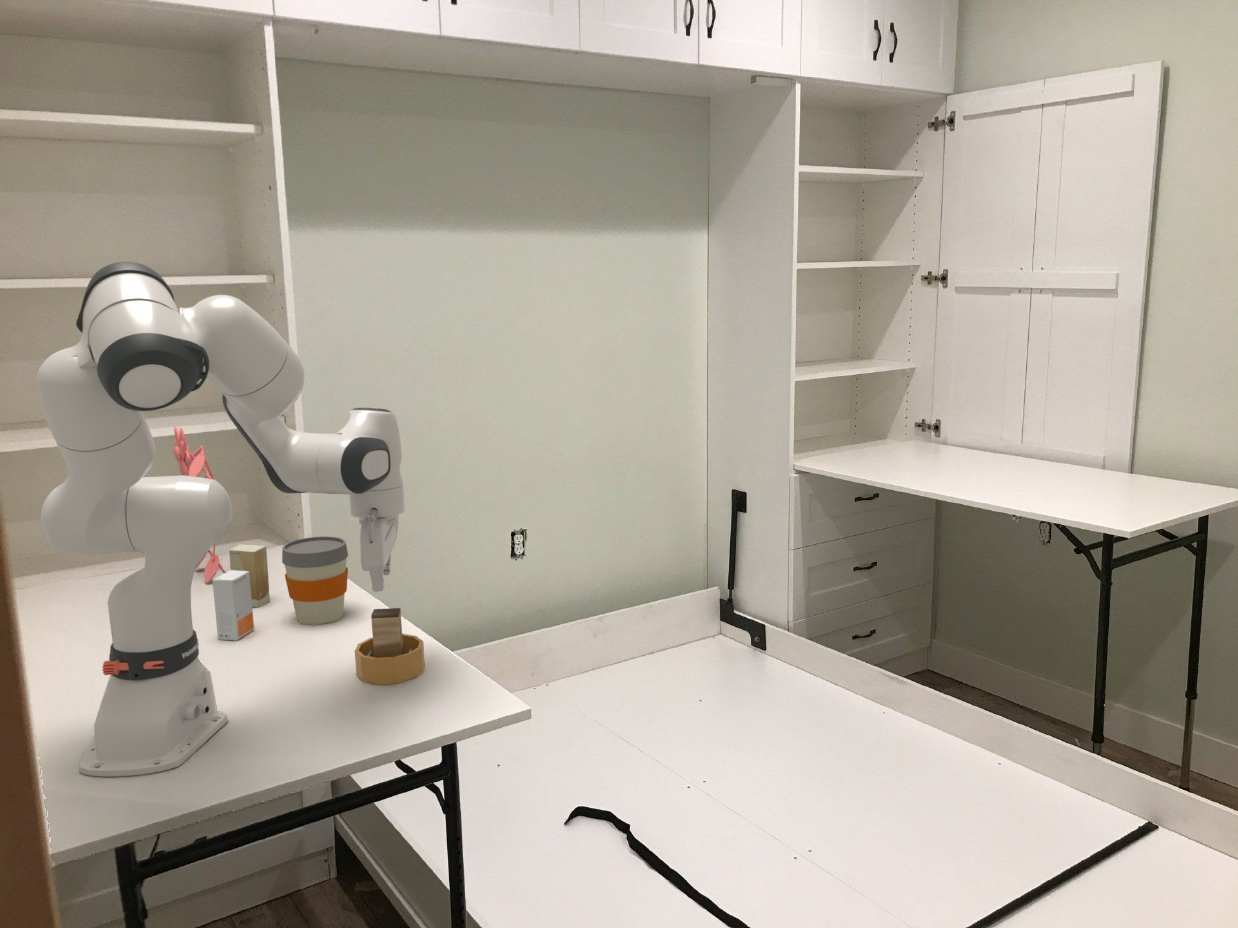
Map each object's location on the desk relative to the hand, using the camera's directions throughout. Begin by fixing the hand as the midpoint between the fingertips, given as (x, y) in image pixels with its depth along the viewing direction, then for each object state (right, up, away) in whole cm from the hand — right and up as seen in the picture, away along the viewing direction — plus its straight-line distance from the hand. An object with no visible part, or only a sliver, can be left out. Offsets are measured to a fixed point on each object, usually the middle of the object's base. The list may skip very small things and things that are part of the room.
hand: (381, 582), depth 167 cm
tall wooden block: (+1, -15, +3) cm, 15 cm away
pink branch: (-56, -6, +55) cm, 79 cm away
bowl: (+1, -16, +3) cm, 16 cm away
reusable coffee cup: (-20, -11, +30) cm, 37 cm away
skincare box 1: (-36, -9, +38) cm, 53 cm away
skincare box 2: (-33, -13, +21) cm, 41 cm away
